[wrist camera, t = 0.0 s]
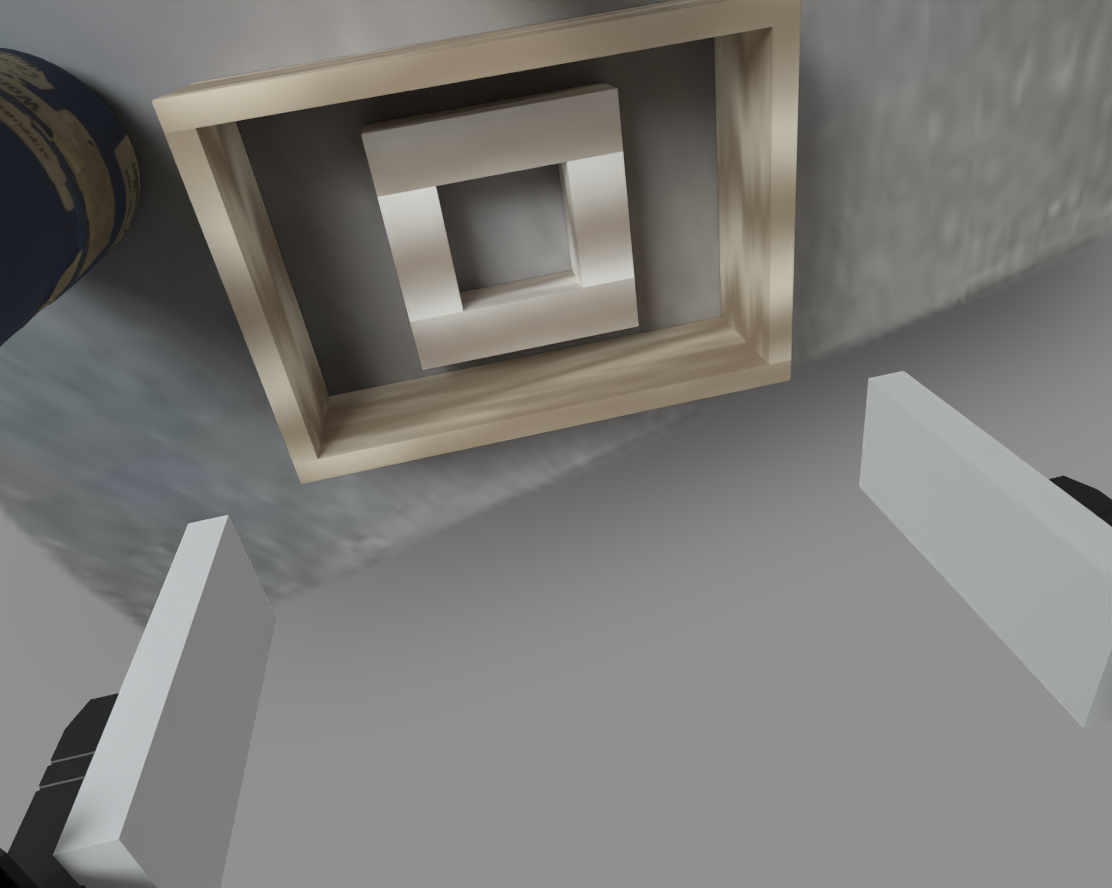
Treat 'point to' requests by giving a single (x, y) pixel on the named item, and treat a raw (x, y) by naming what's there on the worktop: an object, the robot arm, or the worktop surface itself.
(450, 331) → the open box
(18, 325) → the canister
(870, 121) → the worktop surface
